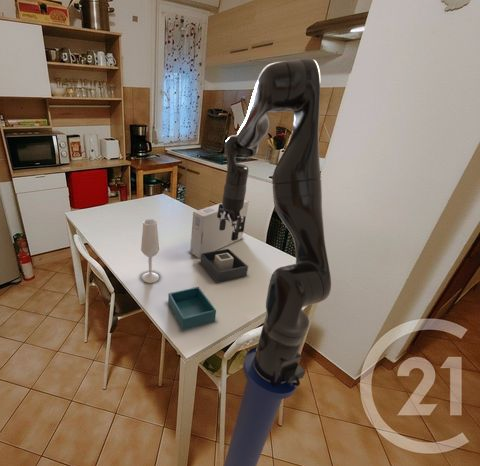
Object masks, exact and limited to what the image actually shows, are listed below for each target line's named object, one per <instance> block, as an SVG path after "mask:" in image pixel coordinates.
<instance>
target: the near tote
mask: <svg viewBox="0 0 480 466" xmlns="http://www.w3.org/2000/svg"><path fill="white" fill-rule="evenodd" d="M167 304H168V305H169V308H170V310H171V312H172V313H173V315H174V318H175V320H176V321H177V323H178V325H179V327H180V329H181V331H184V330H188V329H192V328H196V327H200V326H203V325H207V324H210V323H215V322H216V315H217V310H216V308H215V307H214V305H213V304H212V303H211V301H210V300H209V298H207V296H206V295H205V293H204V292H203V291H202V289H201V288H200V286H195V287H191V288H185V289H181V290H176V291H173V292H169V293H168V299H167Z"/></svg>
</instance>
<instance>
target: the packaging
mask: <svg viewBox="0 0 480 466" xmlns="http://www.w3.org/2000/svg"><path fill="white" fill-rule="evenodd" d="M249 202H250V201H249V200H246V199H244V205H243V208H242V209H241V210H240V216H245V220H246V219H247V213H248V208H249ZM219 204H222V202H220V203H217V204H216V203H215V204H214V205H211V206H207V207H204V208H201V209H198V210H195V211H193V212H192V223H191V235H190V236H191V237H190V249H189V253H190V254H191V255H193V256H195V257H197V258H198V259H201V254H202V253H207V252H213V251H218V250H221V249H222V248H224V247H226V246H229V245H231V244H232V243H235V242H237V241H239V240H242V239H243V235H244V231H243V232H239V234H238V239H237V240H235V241H232V240H231V237H232V231H233V229H232V226H231V225H230V222H229V221H228V220H226V225H225V230H219V226H220V221H219V218H217V214H218V208H219ZM221 214H222V213H220V215H221ZM233 223H237V221H235V222H233ZM235 229H236V225H235ZM240 229H241V227H240Z"/></svg>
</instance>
